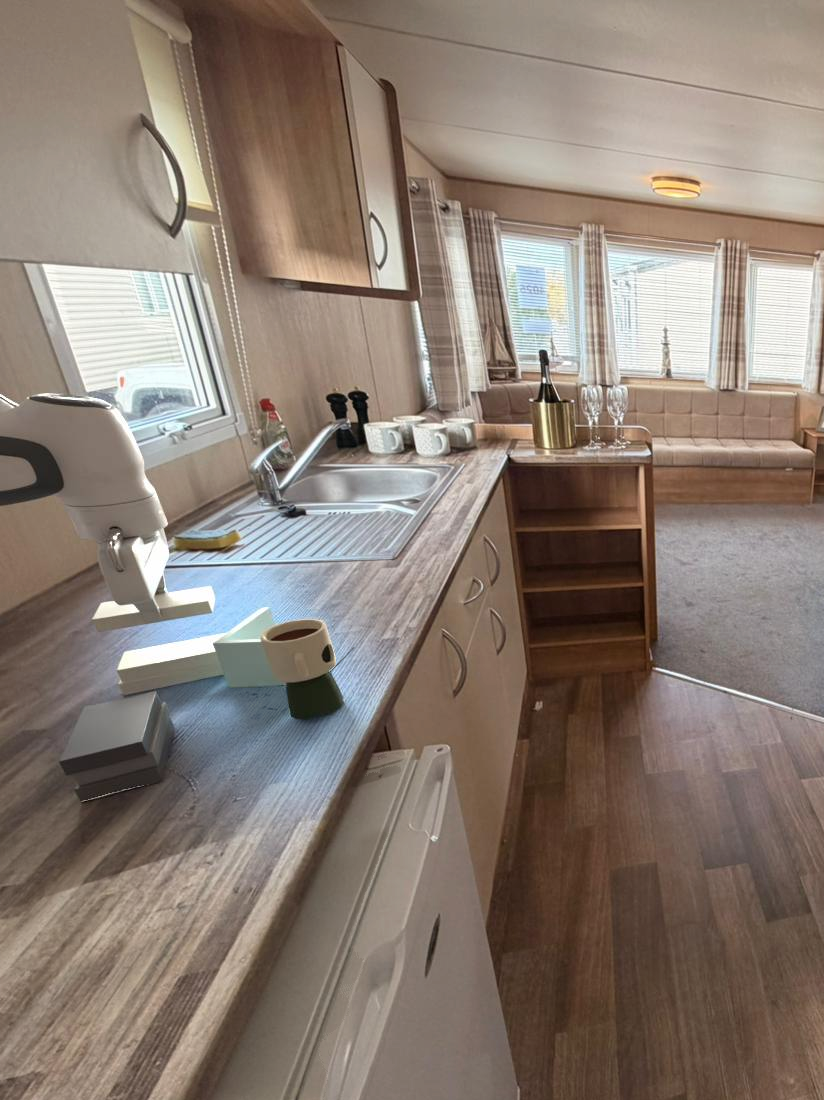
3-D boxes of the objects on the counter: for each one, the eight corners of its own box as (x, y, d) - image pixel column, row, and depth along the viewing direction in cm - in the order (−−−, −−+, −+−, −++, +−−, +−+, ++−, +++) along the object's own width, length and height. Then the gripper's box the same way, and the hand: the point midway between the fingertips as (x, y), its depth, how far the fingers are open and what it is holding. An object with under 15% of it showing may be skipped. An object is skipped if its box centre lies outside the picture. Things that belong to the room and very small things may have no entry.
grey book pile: (163, 781, 76) (144, 740, 74) (81, 804, 72) (58, 761, 70) (175, 727, 85) (159, 689, 83) (103, 744, 81) (83, 705, 79)
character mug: (352, 722, 88) (328, 639, 83) (288, 739, 84) (258, 653, 79) (345, 686, 96) (323, 609, 91) (286, 700, 92) (260, 620, 87)
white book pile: (123, 695, 91) (112, 671, 89) (130, 675, 96) (120, 652, 94) (235, 672, 98) (226, 649, 96) (237, 654, 103) (229, 632, 101)
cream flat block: (215, 597, 98) (211, 585, 98) (212, 613, 94) (208, 600, 93) (106, 615, 92) (100, 602, 91) (97, 632, 87) (91, 619, 86)
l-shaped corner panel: (318, 684, 96) (305, 640, 93) (229, 687, 94) (212, 643, 91) (355, 645, 107) (344, 605, 104) (275, 648, 105) (262, 607, 102)
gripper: (140, 536, 81) (179, 632, 87) (160, 497, 96) (193, 581, 101) (69, 544, 77) (114, 643, 83) (101, 502, 92) (138, 589, 98)
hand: (157, 609), depth 92 cm, fingers closed on cream flat block, 6 cm apart
